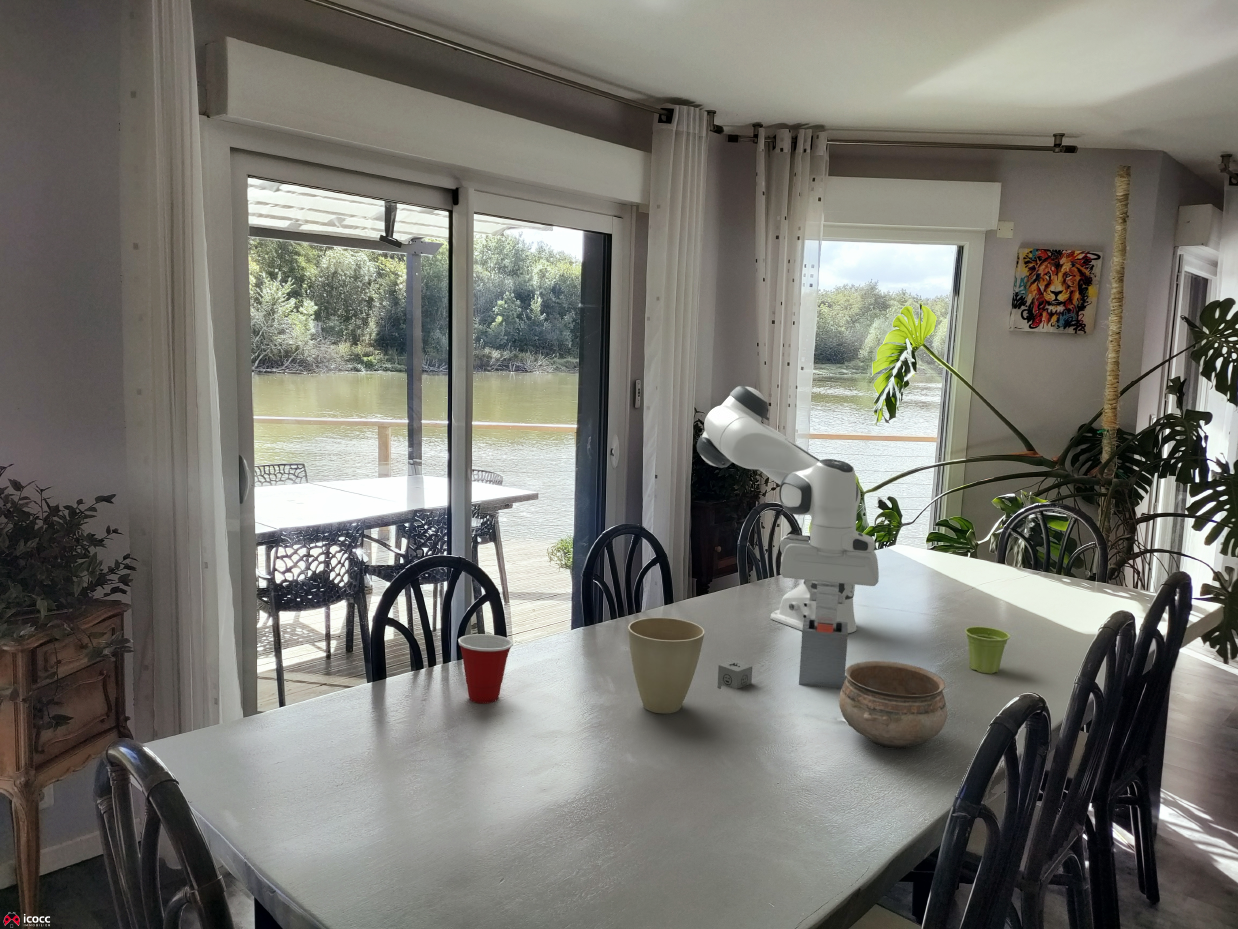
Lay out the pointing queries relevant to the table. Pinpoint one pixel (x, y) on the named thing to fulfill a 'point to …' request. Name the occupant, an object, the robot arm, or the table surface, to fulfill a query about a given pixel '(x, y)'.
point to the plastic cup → (484, 665)
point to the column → (826, 604)
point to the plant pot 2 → (986, 648)
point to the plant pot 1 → (664, 660)
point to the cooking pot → (893, 703)
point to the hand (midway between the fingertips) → (826, 601)
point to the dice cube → (734, 674)
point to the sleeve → (823, 654)
